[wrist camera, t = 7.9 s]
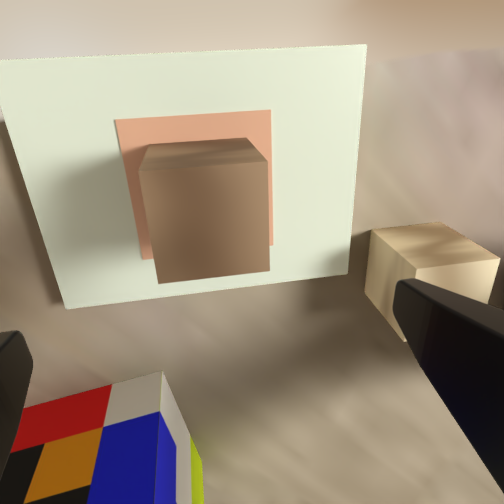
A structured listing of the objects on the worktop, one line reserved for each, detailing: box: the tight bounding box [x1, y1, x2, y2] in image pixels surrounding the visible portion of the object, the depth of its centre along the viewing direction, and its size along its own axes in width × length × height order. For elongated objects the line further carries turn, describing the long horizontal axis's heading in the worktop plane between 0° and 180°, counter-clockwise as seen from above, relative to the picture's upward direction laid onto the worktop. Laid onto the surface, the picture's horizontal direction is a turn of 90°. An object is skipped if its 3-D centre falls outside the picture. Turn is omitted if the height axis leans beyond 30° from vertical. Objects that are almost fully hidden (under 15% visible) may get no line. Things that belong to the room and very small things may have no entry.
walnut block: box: [138, 137, 270, 284], centre depth 16 cm, size 4×4×5 cm
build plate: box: [0, 44, 367, 309], centre depth 19 cm, size 16×12×1 cm
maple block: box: [364, 222, 501, 342], centre depth 22 cm, size 4×4×5 cm
